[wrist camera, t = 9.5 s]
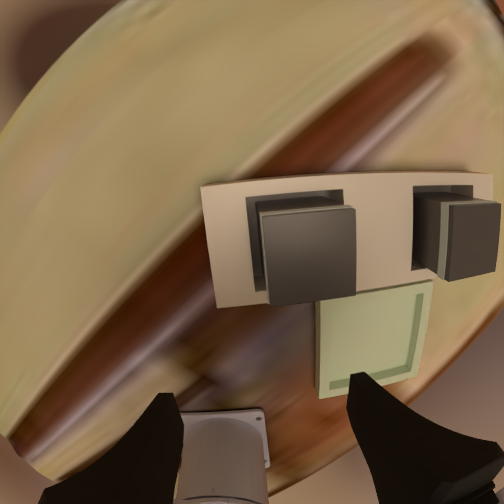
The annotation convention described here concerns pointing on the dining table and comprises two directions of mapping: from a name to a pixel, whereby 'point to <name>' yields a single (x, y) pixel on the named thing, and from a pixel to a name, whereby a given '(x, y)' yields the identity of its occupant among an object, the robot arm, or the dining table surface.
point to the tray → (371, 336)
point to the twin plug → (307, 249)
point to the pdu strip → (338, 189)
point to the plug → (455, 234)
